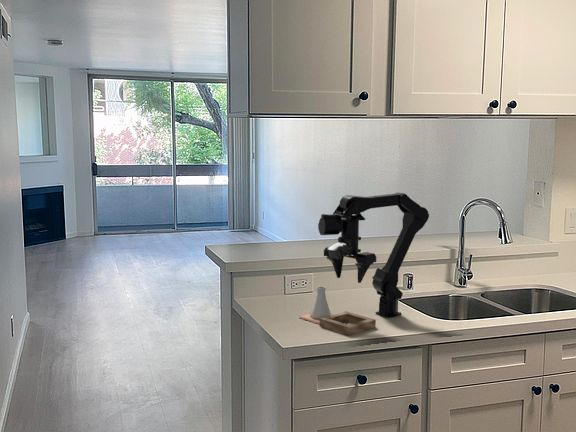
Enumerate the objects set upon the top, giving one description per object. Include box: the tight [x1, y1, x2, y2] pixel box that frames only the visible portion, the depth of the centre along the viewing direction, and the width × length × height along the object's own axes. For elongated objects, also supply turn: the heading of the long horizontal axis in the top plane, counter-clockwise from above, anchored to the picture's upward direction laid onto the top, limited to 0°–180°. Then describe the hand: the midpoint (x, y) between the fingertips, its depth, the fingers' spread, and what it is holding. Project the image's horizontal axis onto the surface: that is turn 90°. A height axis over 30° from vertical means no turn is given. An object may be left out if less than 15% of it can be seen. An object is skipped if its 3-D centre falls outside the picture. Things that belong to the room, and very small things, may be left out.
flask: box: [310, 285, 332, 319], centre depth 204 cm, size 7×7×10 cm
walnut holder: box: [319, 311, 377, 336], centre depth 196 cm, size 13×13×2 cm
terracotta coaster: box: [299, 313, 334, 325], centre depth 205 cm, size 10×10×1 cm
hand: (348, 280), depth 203 cm, fingers open, 9 cm apart
